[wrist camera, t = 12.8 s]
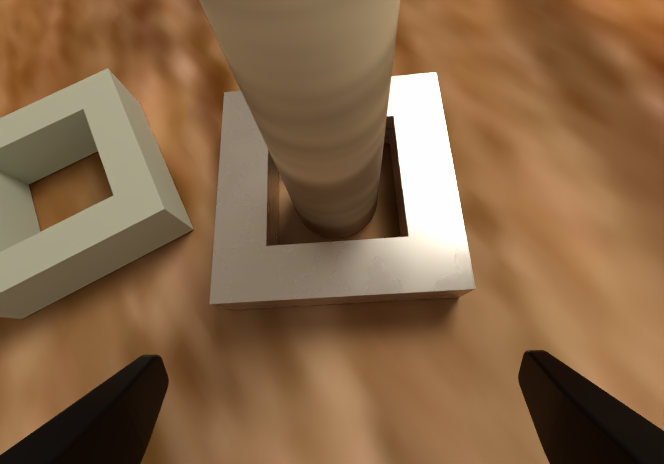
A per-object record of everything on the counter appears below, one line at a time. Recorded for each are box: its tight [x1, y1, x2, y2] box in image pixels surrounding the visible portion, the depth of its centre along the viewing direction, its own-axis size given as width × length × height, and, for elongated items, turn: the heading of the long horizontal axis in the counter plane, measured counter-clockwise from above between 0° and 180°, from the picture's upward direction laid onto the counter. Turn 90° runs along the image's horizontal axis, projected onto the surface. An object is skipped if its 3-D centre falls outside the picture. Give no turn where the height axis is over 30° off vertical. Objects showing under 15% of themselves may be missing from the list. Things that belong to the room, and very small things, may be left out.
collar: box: [0, 68, 194, 319], centre depth 19 cm, size 10×10×3 cm
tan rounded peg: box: [199, 0, 400, 238], centre depth 13 cm, size 4×4×13 cm
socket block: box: [209, 72, 476, 310], centre depth 18 cm, size 12×12×2 cm
